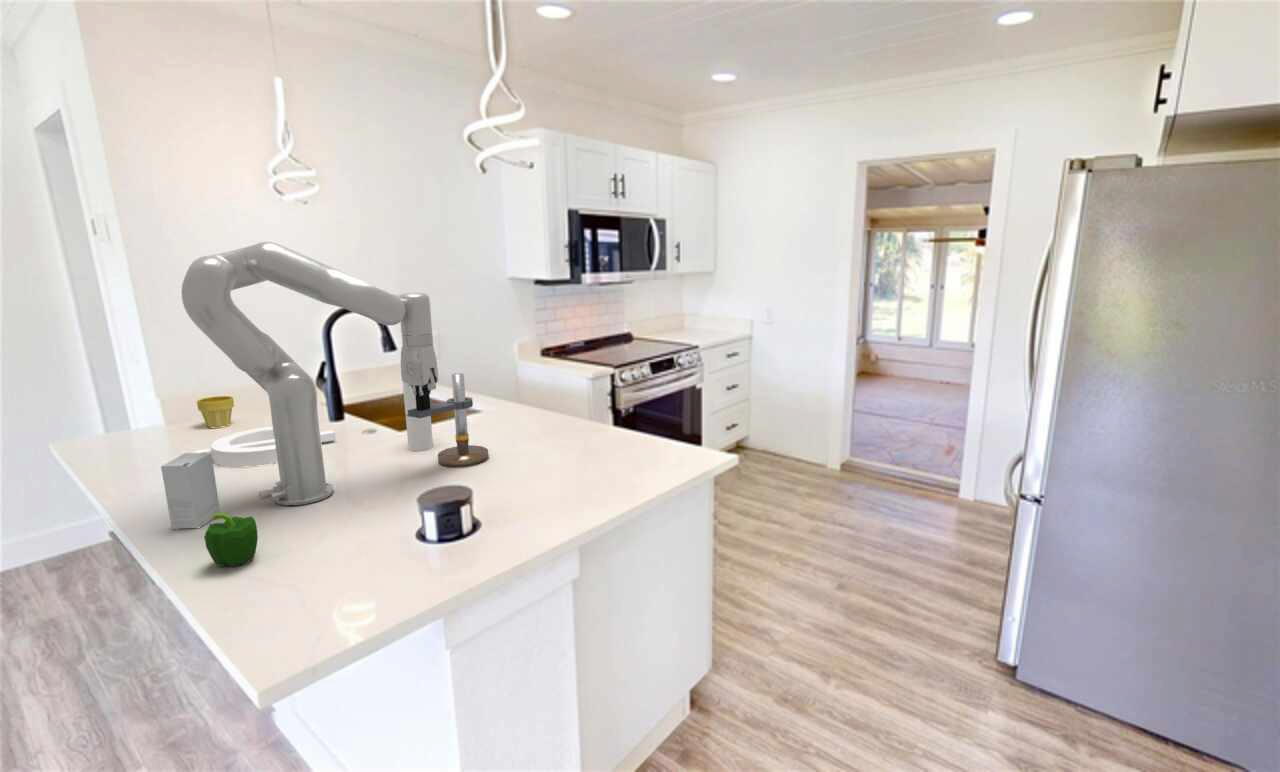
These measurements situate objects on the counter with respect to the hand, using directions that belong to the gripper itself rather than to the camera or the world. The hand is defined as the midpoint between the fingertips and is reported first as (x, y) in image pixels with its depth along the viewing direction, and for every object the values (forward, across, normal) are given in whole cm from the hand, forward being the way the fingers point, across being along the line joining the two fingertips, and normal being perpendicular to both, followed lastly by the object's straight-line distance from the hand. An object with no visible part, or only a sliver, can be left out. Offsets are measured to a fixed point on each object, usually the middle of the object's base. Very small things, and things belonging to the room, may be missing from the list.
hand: (423, 409), depth 160 cm
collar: (+2, 0, +6) cm, 6 cm away
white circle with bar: (+18, -55, -16) cm, 60 cm away
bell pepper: (+18, +12, -52) cm, 56 cm away
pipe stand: (+18, 0, +12) cm, 21 cm away
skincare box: (+18, -15, -49) cm, 54 cm away
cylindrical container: (+18, -20, +12) cm, 29 cm away
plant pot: (+18, -101, -12) cm, 103 cm away
